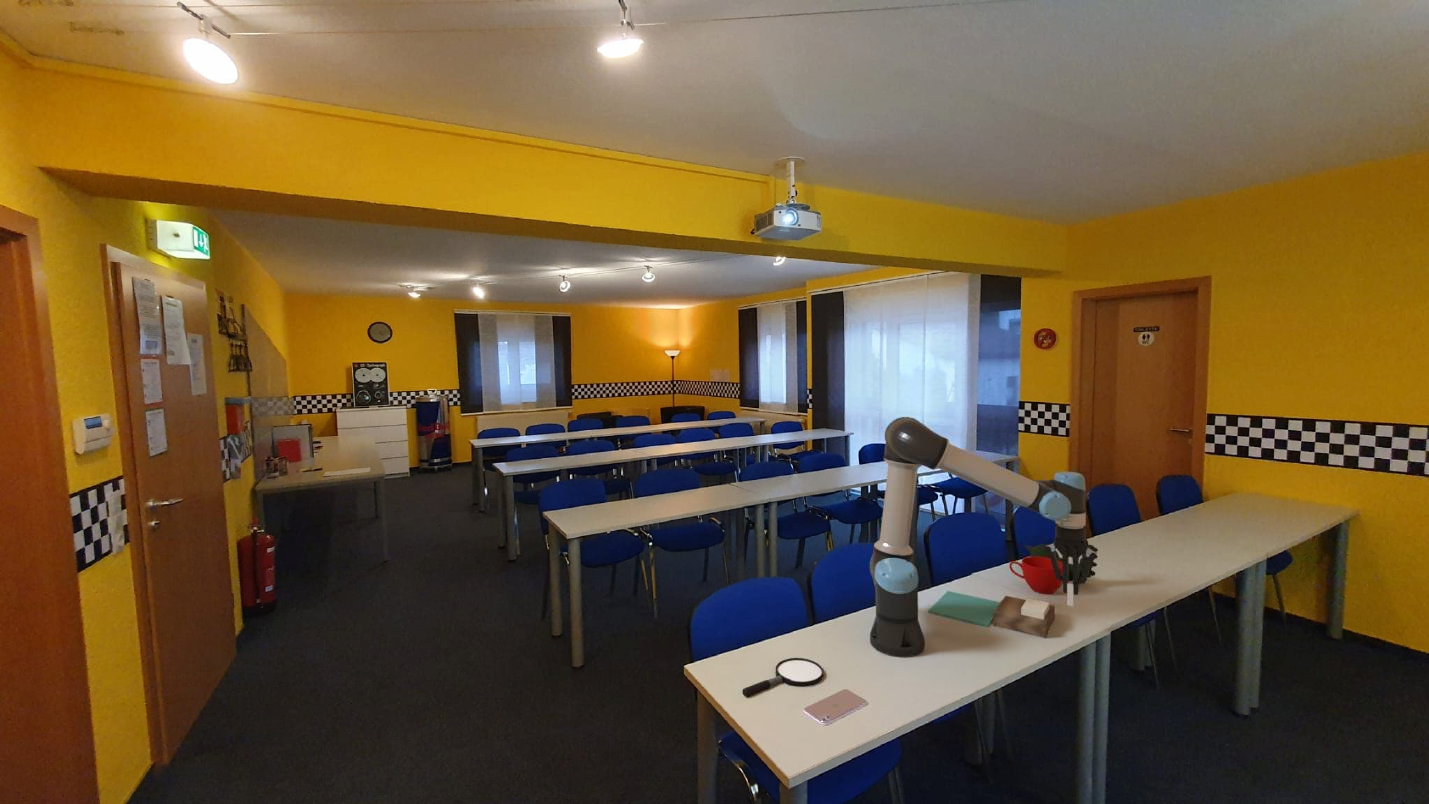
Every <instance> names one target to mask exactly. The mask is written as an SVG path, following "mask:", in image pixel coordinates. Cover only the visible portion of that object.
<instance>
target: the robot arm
mask: <svg viewBox="0 0 1429 804" xmlns="http://www.w3.org/2000/svg"><path fill="white" fill-rule="evenodd" d="M884 441H885V444H884V445H885V446H884V456H883V460H884V461H885V462H886V463H887V465H888V466H887V472H886V473H887V474H886V482H885V483H886V484H885V491H884V499H883V509H882V519H881V524H880V525H881V527H880V535H879V540H877V541H876V542H875V543H874V545H873V551H872V552H873V553H872V555H871V559H870V561H869V572H870V575H871V577H872V580H873V581H872V582H873V585H874V590H875V617H874V621H873V624H872V626H871V630H870V633H869V642H870V645H871V647H873V649H875V650H876V651H879V652H880V653H882V654H885V655H889V656H893V657H900V658H903V657H904V658H907V657H908V658H909V657H913V656H915V657H916V656H918V655H920V654H922V653H923V652H924V651H925V650H926V640H925V639H926V638H925V635H924V633H923V629H922V627H921V625H920V621H919V592H918V591H919V590H918V589H919V575H918V569H917V567H916V566H915V565H914V564H913V555H914V550H913V549H912V548H911V546H910V537H911V536H910V535H911V528H912V519H913V512H914V502H915V495H916V494H915V493H916V486H917V479H918V478H917V476H918V469H919V468H920V467H922V466H923V467H926V468H928V469H930V470H933V471H935V470H937V469H940V470H941V471H943V472H946V473H949V474H951V475H952V476H955V477H957V478H960V479H961V480H964V481H966V482H968V483H971V484H973V485H975V486H977V487H980V488H982V489H984V490H986V491H988V492H990V493H993V494H995V495H997V496H1000V497H1002V498H1004V499H1007V500H1008V501H1011V503H1012V505H1014V506H1019V507H1023V508H1026V509H1028V510H1030V511H1032V512H1035V513H1037V514H1039V515H1041V517H1043V518H1045V519H1047V520H1048V519H1049V520H1050V521H1054V522H1055V524H1056V525H1055V526H1054V527H1055V529H1054V531H1055V536H1054V537H1055V539H1054V541H1053V543H1051V544H1046V545H1047V546H1046V548H1045V549H1046V551H1047V552H1048V554H1049V556H1050V559H1051V563H1052V566H1053V570H1054V573H1055V577H1056V579H1058V580H1061V581H1062V592H1063V593H1064V594H1067V597H1066V598H1067V599H1066V600H1067V606H1069V607H1074V606H1075V603H1076V602H1075V601H1076V600H1075V599H1076V597H1075V596H1078V595H1079V593H1080V585H1083V584H1086V582H1087V581H1086V579H1087V580H1088V577H1087V576H1088V572H1089V569H1090V566H1091V562H1092V560H1093V559H1094V558H1095V557H1096V555H1097V554H1098V551H1097V552H1096V551H1092V550H1091V549H1089V548H1088V545H1089V544H1088V545H1087V543H1086V539H1087V537H1086V533H1087V531H1086V530H1087V529H1086V528H1085V527H1086V521H1087V520H1086V481H1085V476H1084V475H1083V474H1082V473H1079V472H1075V471H1059V472H1056V473H1055V474H1054V478H1053V479H1030V478H1027V477H1026V476H1023V475H1021V474H1019V473H1017V472H1015V471H1013V470H1010V469H1008V468H1005V467H1003V466H1001V465H998V464H996V463H995V462H992V461H989V460H987V459H985V458H983V457H981V456H978V455H975V454H974V453H971V452H969V451H967V450H965V449H963V448H961V447H958V446H956V445H953V444H951V443H950V441H949V439H948V438H946V437H944V436H943V435H940V434H938V433H936V432H935V431H933V430H931V429H930V428H929V427H927V426H926V425H925V424H924V423H921V422H920V421H919V420H918V419H917V418H914V417H909V416H900V417H896V418H895V419H893V420H892V421H890V422H889V423H888V425H887V427H885V431H884ZM1055 550H1056V551H1057V552H1058V553H1060V555H1061V556H1062V557H1061V558H1062V560H1063V575H1061V571H1060V568H1059V564H1058V560H1057V557H1056V553H1055ZM1085 551H1086V552H1087V554H1086V556H1087V557H1088V558H1087V560H1086V563H1085V567H1084V570H1083V574H1082V577H1081V578H1079V563H1080V557H1082V554H1083V553H1084V552H1085ZM1069 558H1072V564H1073V581H1068V580H1069ZM1094 560H1095V559H1094Z"/></svg>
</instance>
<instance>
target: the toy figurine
mask: <svg viewBox="0 0 1429 804" xmlns="http://www.w3.org/2000/svg"><path fill="white" fill-rule="evenodd" d="M1086 543H1087V545H1088V548H1089V549H1091V550H1092V551H1096V552H1097V553H1098V551H1099V549H1098V548H1097V547H1095V546H1094V545H1093V544H1089V541H1088V539H1087V538H1086ZM1047 545H1048V544H1038V545H1035V546H1031V545H1027V544H1025V545H1024V548H1025V549H1026V550H1027V551H1028V552H1029V553H1030V554H1029V557H1045V558H1050V556H1049V554H1048V552H1047V551H1046V549H1045V548H1046V546H1047ZM1055 553H1056V557H1057V560H1058V561H1060V562H1062V563H1063V560H1062V557H1060V555H1059V552H1058V550H1057V549H1056V550H1055ZM1086 554H1087V552H1086V551H1085V552H1084V553H1083V554H1082V555H1081V558H1079V578H1081V577H1082V574H1083V570H1084V567H1085V563H1086V560H1087V558H1088V557H1087V556H1086ZM1095 559H1096V560H1097V559H1098V555H1097V554H1096V557H1095V558H1094V559H1093V560H1092V562H1091V566H1090V569H1089V572H1088V576H1087V579H1086V582H1087V581H1088V578H1091V577H1094V576H1096V572H1095V571H1094V570H1093V568H1096V567H1097V566H1098V563H1097V562H1095ZM1068 581H1073V563H1069V580H1068Z"/></svg>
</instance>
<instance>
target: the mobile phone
mask: <svg viewBox="0 0 1429 804" xmlns="http://www.w3.org/2000/svg"><path fill="white" fill-rule="evenodd" d="M867 705H868V702H867V700H866V699H864V698H863V697H861V696H859V695H857V694H856V693H854V692H853V691H851V690H849V689H847V688H846V689H842V690H839V691H837V692H836V693H833V694H831V695H829V696H827V697H825V698H823V699H820V700H819V701H817V702H814V703H812V704H810V705H807V706H806V707H804V708H803V713H804V714H805V715H807V716H808V717H809V718H811V720H813V721H815V722H816V723H817V724H819V725H821V726H822V727H823V726H824V727H826V726H828V725H830V724H832V723H834V722H837V721H838V720H841V719H843V718H844V717H846V716H848V715H850V714H852V713H854V712H856V711H858V710H860V709H861V708H863V707H865V706H867Z"/></svg>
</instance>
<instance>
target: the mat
mask: <svg viewBox="0 0 1429 804" xmlns="http://www.w3.org/2000/svg"><path fill="white" fill-rule="evenodd" d="M1000 603H1001V601H997V600H992V599H987V598H982V597H977V596H973V595H968V594H963V593H959V592H955V591H950V590H947V591H946V592H945V593H944V594H943V595H942V596H941V597H940V598H939V599H938V600H937V601H936V602H935V603H934V604H933V605H932V606H931V608H929V609H928V611H927V613H929V614H933V615H937V616H941V617H944V618H949V619H952V620H956V619H957V620H958V621H961V622H965V623H969V624H973V625H978V626H981V627H986V628H989V626H990V625H991V624H992V623H993V612H994V611H995V610H996V608H997V607H998V606H999V604H1000Z"/></svg>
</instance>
